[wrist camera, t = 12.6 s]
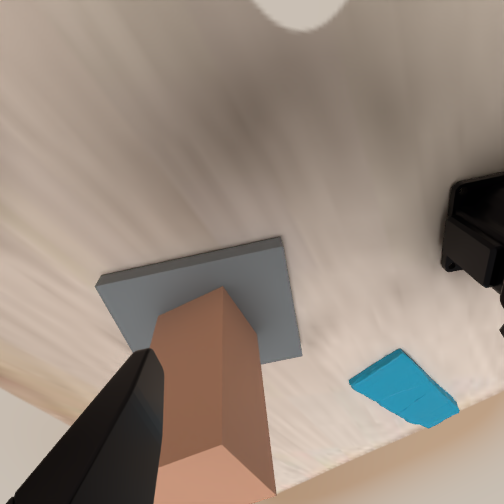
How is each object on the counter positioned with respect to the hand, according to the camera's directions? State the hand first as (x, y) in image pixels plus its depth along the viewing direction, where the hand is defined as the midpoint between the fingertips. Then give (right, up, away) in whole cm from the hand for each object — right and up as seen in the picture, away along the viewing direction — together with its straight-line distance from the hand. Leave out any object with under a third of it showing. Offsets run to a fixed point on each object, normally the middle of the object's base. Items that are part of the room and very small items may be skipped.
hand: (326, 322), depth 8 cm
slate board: (-5, -3, +15) cm, 16 cm away
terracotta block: (-5, -3, +14) cm, 15 cm away
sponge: (+12, -11, +22) cm, 28 cm away
